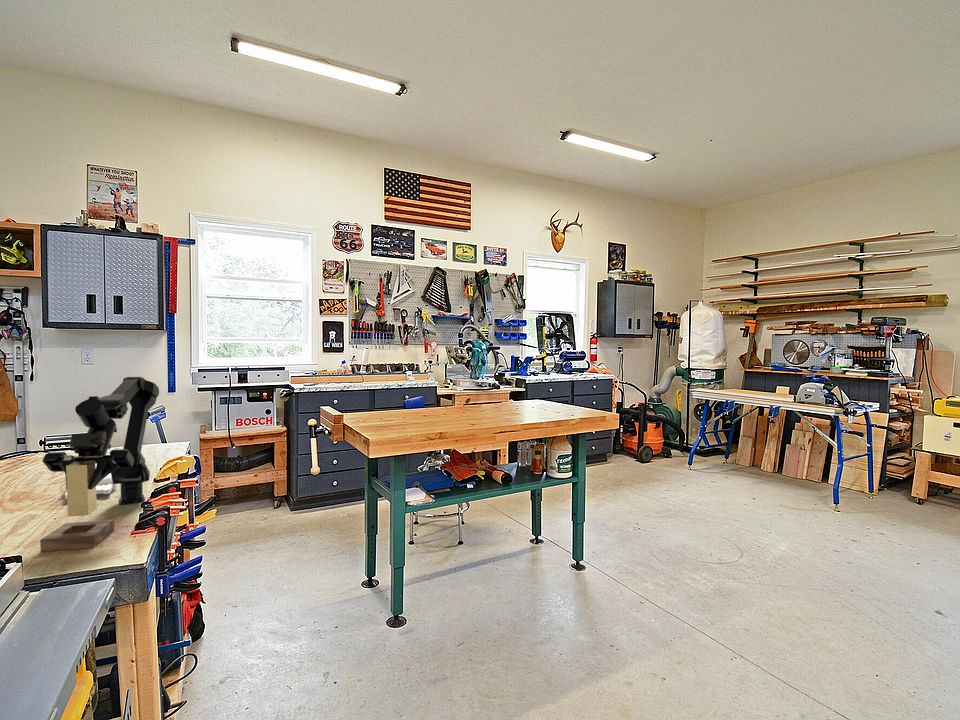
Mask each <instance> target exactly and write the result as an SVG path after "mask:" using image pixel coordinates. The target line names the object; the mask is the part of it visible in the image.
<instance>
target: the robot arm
mask: <svg viewBox="0 0 960 720" xmlns="http://www.w3.org/2000/svg"><path fill="white" fill-rule="evenodd" d="M159 395H160V388H159V386H157V384H156V383H155V382H153V381H150V380H147V379H145V378H144V377H143V376H142V377H141V376H127V377H124V378H123V380H122V382H121V383H120V384H119V386H117V387H116V388H115V389H114V390H113V391H112V392H111V393H110V394H109V395H103V396H101V397H99V396H98V395H96V396H88V398H87V399H85V400H83V401H81V402H80V403H78V404H77V405H76V406H75V409H74V410H75V413H76V415H77V416H78V417H79V419H80V421H81V422H82V424H83V425H84V427H86V428H88V430H87V433H72V434H71V436H70V441H69V447H70V448H73V449H74V450H73V452H74V453H75V454H77V455H76V456H75V455H71V454H69V455H68V454H67V452H65V451H50V452H47V453H45V455H44V456H43V458H42V461H41V462H42V463H43V464H44V465H45V466H46V467H47V469H48V470H49V471H50V472H53V473H57V472H64V475H65V483H66V484H65V490H66V489H67V475H66V466H67V465H69V464H71V463H73V462H75V461H95V463H97V465H96V469H95V471H94V474H93V476H92V479H91V481H90V484H89V489H93V488H94V487H95V486H96V485H97V484H98V483H99V482H100V481H101V480H102V479H103V478H105V477H106V476H107V475H109V474H110V473H111V476H112V481H113V484H118V485H119V484H120V498H118V501H119V505H120V506H121V505H122V506H123V505H128V504H132V503H133V504H134V503H140V502H145V501H146V498H145V494H143V493H144V490H143V488H144V487H143V484H144V483H146V482H149V481H150V477H151V475H150V474H151V473H150V470H149V468H148V467H147V465H146V459H145V457H144V456H143V453H142V448H143V442H144V437H145V430H146V426H147V420H148V414H149V411H150V410H151V408H152V407H153V406H155V404H156V402H157V399H158V397H159ZM128 403H129V405H130V406H131V408H130V415H129V420H128V422H127V423H128V425H127V428H126V429H127V430H126V436H125V440H124V445H123V448H119V449H118V448H117V449H112V444H111V441H112V438H113V436H114V433H117V432H118V428H117V423H116V422H115V420H121V419H123V418H124V417H125V415H126V414H127V412H128V410H129V408H128ZM111 449H112V450H111ZM108 450H110V452H109V454H107V453H108Z"/></svg>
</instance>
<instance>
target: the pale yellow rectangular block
mask: <svg viewBox="0 0 960 720" xmlns="http://www.w3.org/2000/svg"><path fill="white" fill-rule="evenodd" d="M95 469H96V466H95V461H75V462H73V463H71V464H69V465H67V466H66V475H67V499H66V500H67V502H66V503H67V517H68V518H69V517H81V516H82V517H84V516H89V515H91V514H92V513H93V512H95V511H96V510H97V509H98V506H97V494H96V486H95V487H94V488H93V489H89V484H90V481H91V479H92V476H93V474H94V471H95Z"/></svg>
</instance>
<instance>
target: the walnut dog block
mask: <svg viewBox="0 0 960 720" xmlns="http://www.w3.org/2000/svg"><path fill="white" fill-rule="evenodd" d="M113 532H115V519H106V520H105V519H103V520H93V521H92V520H91V521H79V522H78V521H77V522H66V523H64V524H62V525H60V526H59V527H58V528H56V529H55V530H53V531H51V532H50V533H49V534H47V535H45V536H44V537H42V538H41V539H40V541H39V543H40V546H39V547H40V552H41V551H46V552H51V551H50V550H57V551H65V550H64V549H68V550H76V549H77V550H79V549H89V548H95V547H96V546H97V545H99V543H101V542H102V541H103V540H105V539H106V538H108V536H110V535H111V534H112V533H113Z"/></svg>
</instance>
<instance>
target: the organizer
mask: <svg viewBox="0 0 960 720" xmlns="http://www.w3.org/2000/svg"><path fill="white" fill-rule="evenodd" d="M96 465H97V464H95V466H96ZM65 485H66V482H65ZM118 485H119V484H113V481H112V476H111V473H110V474H109V475H107V476H106V477H105V478H103V479H102V480H101V481H100V482H99V483H98V484H97V485H96V495H99V494H103V495H110V494H111V492H113V491H114V492H115V491H117V488H118ZM64 500H67V489H66V488H65V494H64Z"/></svg>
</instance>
